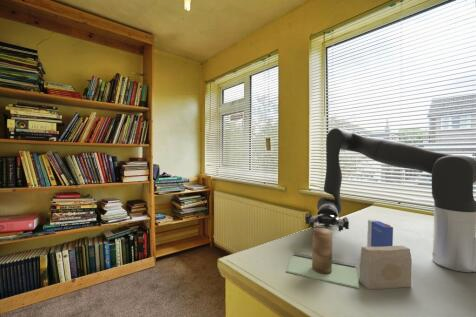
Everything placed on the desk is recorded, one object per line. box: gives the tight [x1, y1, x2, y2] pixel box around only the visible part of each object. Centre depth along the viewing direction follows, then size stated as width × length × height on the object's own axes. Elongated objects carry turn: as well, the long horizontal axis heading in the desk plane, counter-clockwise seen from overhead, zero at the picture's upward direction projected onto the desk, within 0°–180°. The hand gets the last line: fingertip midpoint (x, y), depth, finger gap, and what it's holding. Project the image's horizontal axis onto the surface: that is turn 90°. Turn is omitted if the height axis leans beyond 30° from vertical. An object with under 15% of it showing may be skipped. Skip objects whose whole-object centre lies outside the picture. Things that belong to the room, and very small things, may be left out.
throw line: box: [293, 252, 357, 269], centre depth 70 cm, size 18×2×1 cm, turn 66°
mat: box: [286, 255, 360, 290], centre depth 64 cm, size 18×10×1 cm, turn 66°
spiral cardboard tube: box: [311, 227, 333, 274], centre depth 64 cm, size 5×5×11 cm
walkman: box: [366, 219, 394, 247], centre depth 71 cm, size 8×3×12 cm, turn 3°
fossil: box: [358, 245, 413, 290], centre depth 57 cm, size 12×4×10 cm, turn 97°
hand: (325, 226), depth 74 cm, fingers open, 8 cm apart
